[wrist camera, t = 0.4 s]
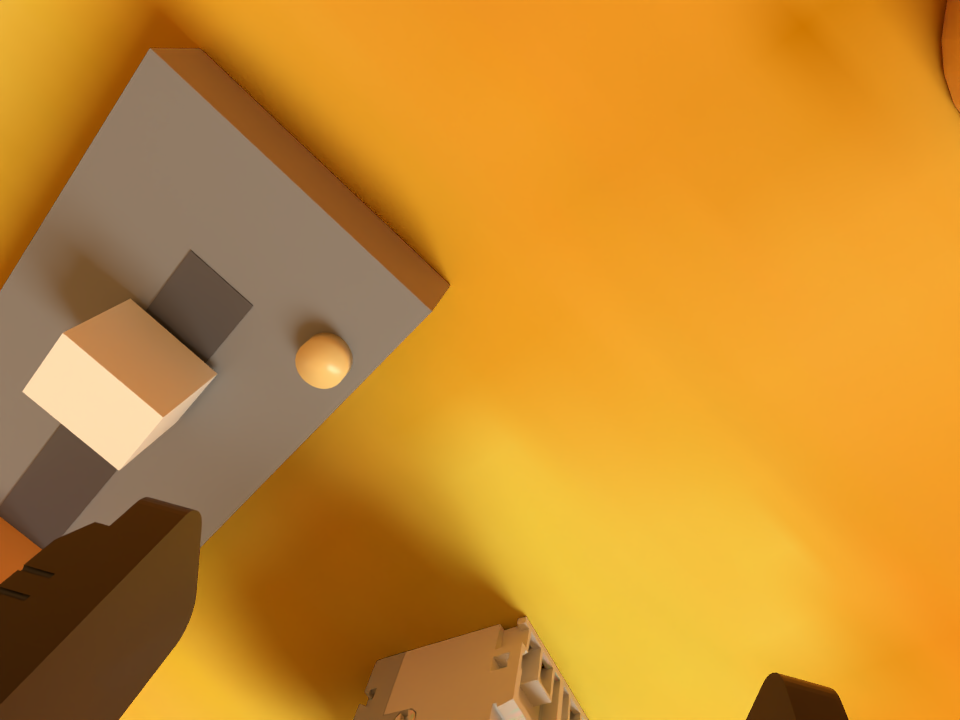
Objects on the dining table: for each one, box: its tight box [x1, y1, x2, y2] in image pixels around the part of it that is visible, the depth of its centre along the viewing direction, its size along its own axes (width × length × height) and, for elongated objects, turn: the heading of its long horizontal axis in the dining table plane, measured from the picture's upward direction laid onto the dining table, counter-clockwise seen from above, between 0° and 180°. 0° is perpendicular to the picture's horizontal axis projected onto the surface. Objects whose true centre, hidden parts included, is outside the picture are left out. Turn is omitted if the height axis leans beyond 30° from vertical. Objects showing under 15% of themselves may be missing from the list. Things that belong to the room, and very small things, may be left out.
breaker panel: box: [0, 48, 450, 549], centre depth 30 cm, size 26×12×4 cm, turn 137°
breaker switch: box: [22, 299, 217, 470], centre depth 25 cm, size 3×4×4 cm
